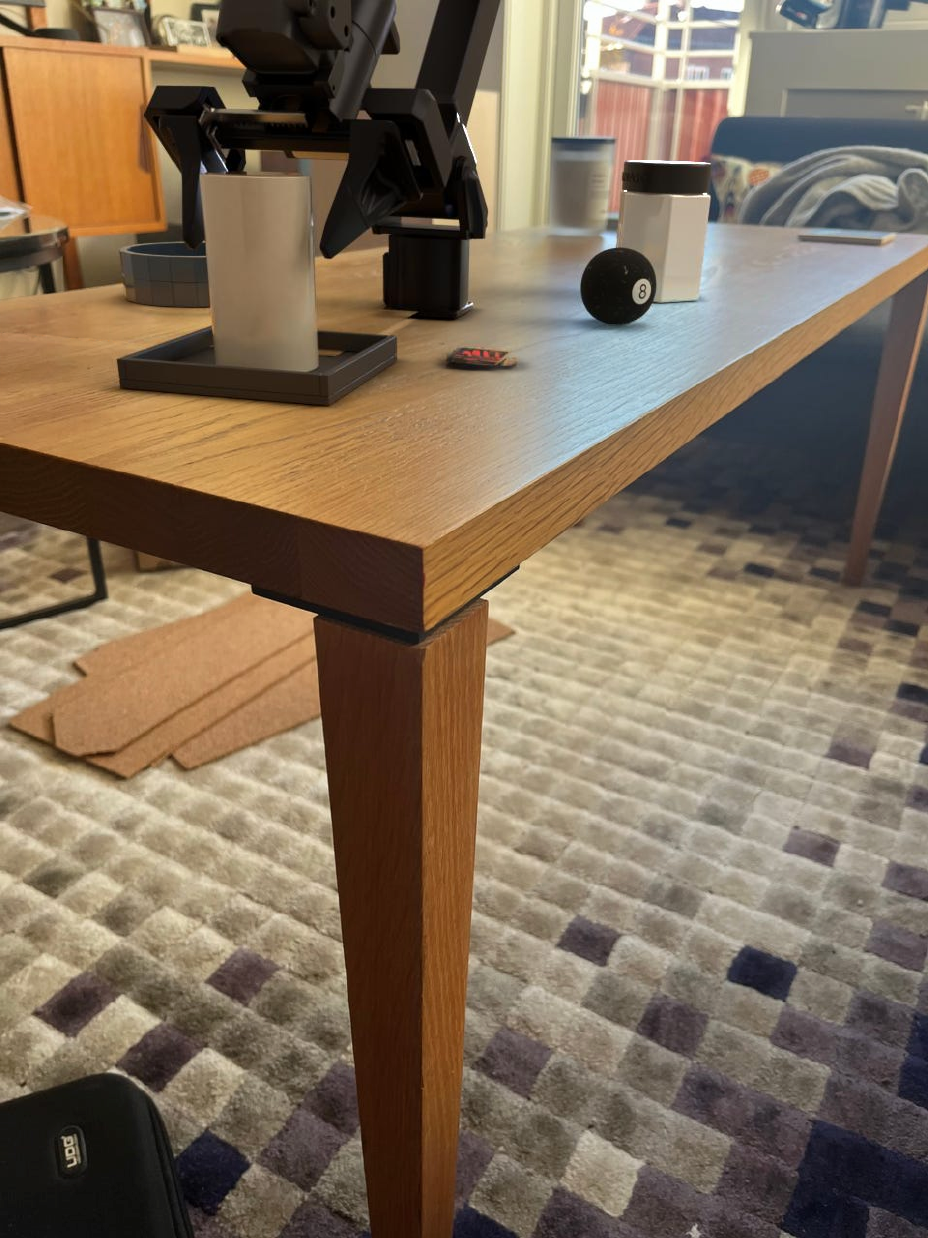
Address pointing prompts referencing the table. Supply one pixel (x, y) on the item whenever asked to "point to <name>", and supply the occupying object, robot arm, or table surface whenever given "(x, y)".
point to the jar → (667, 222)
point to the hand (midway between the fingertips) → (254, 249)
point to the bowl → (165, 274)
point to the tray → (258, 369)
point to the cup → (261, 269)
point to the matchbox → (480, 356)
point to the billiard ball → (618, 286)
